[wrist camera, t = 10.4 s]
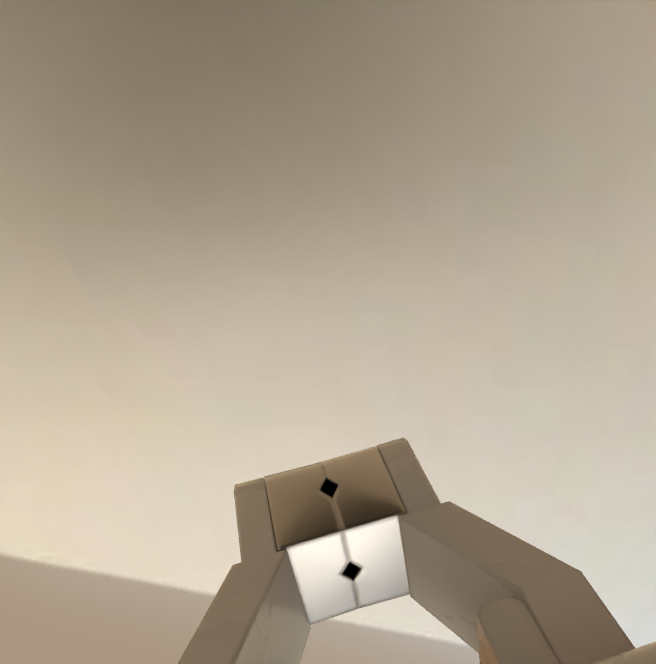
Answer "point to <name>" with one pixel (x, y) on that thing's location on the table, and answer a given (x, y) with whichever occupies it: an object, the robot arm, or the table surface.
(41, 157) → the table surface
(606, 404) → the table surface
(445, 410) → the table surface
